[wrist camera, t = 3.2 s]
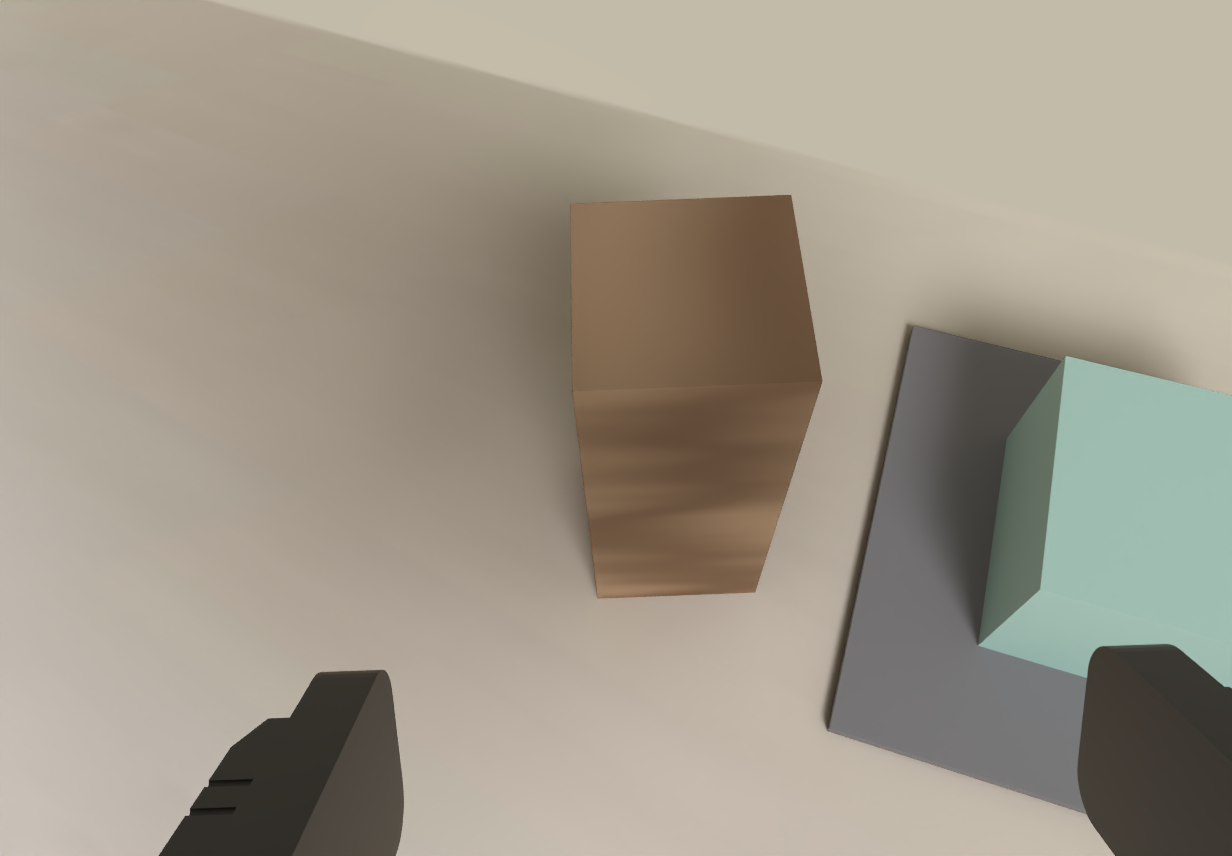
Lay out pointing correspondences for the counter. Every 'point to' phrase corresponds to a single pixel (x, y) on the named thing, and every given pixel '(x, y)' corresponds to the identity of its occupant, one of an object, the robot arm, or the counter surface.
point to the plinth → (1114, 522)
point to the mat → (952, 586)
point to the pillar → (688, 386)
